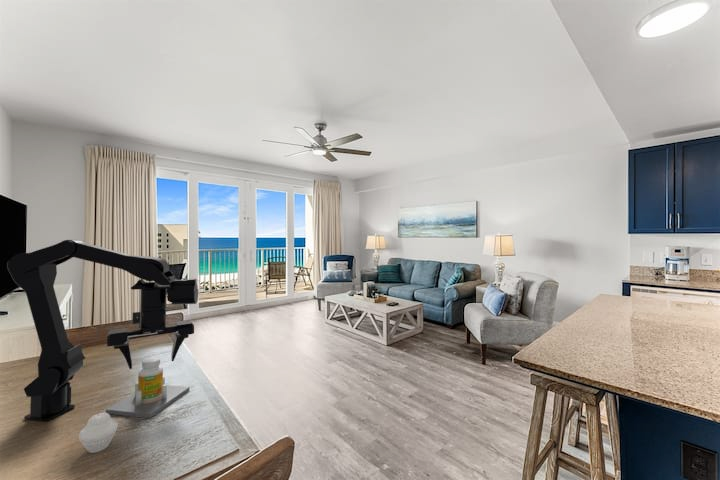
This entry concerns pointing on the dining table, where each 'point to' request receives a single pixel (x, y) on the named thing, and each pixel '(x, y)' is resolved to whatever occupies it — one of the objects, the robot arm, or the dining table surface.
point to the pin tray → (147, 402)
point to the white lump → (98, 432)
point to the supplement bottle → (150, 379)
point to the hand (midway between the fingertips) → (152, 364)
